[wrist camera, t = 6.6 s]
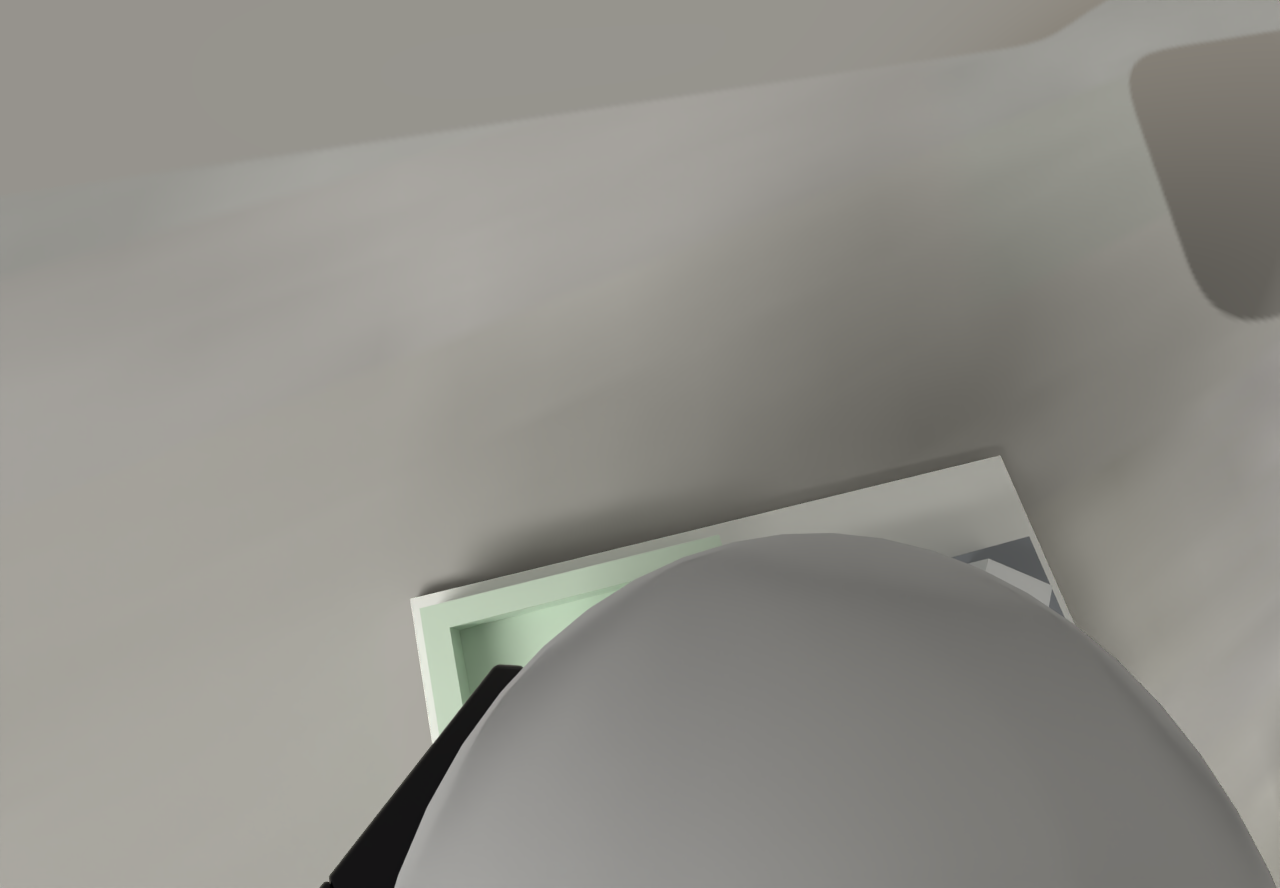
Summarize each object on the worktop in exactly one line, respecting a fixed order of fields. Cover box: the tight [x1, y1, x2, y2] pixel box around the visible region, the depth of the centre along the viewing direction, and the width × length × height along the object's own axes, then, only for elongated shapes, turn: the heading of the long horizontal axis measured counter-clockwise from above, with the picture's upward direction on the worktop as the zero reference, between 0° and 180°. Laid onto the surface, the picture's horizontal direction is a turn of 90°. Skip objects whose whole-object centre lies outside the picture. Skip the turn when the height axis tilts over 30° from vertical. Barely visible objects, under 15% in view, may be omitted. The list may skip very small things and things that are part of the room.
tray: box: [419, 535, 722, 735], centre depth 19 cm, size 9×9×3 cm
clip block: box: [951, 536, 1065, 618], centre depth 20 cm, size 7×7×4 cm
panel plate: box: [410, 455, 1074, 744], centre depth 20 cm, size 21×12×1 cm, turn 105°
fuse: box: [395, 533, 1276, 888], centre depth 9 cm, size 4×4×14 cm
